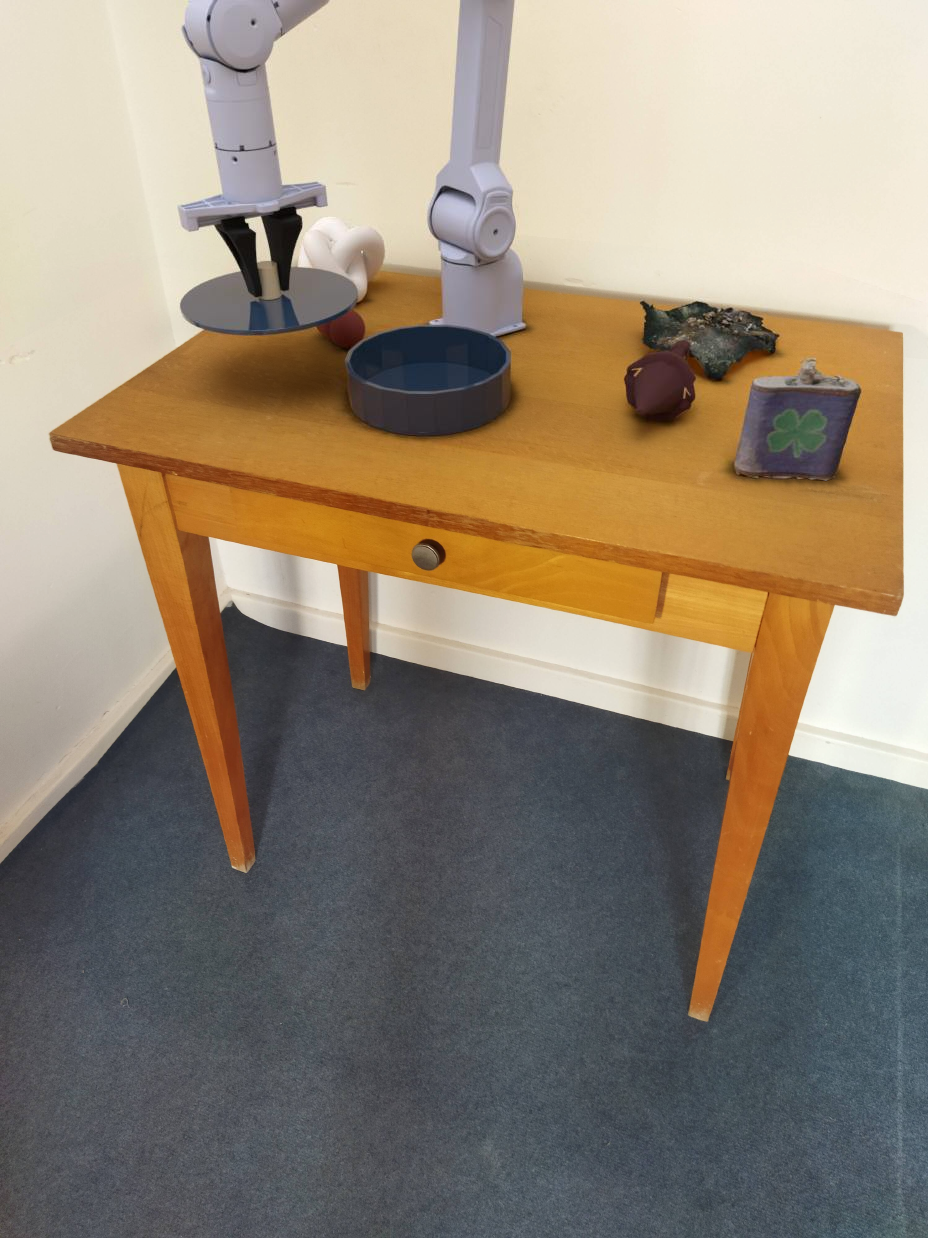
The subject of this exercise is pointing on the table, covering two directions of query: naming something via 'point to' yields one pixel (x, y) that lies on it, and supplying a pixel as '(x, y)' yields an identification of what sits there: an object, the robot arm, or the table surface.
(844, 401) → the flask
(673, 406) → the dark maroon rounded piece
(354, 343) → the sweet potato
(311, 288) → the lid
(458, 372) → the dark blue bowl
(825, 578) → the table surface
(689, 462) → the table surface
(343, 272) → the white twisted tube
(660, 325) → the decorative rock
